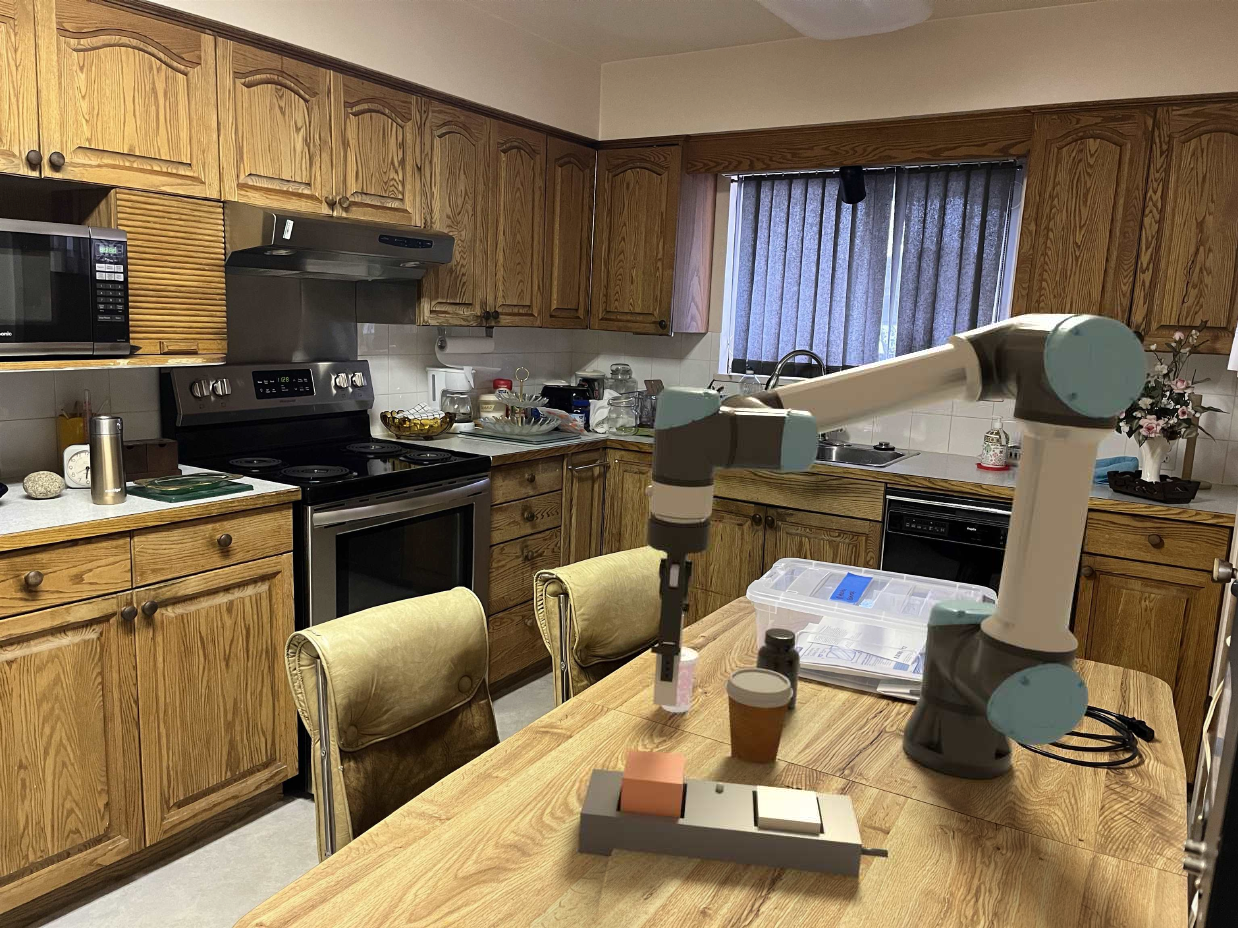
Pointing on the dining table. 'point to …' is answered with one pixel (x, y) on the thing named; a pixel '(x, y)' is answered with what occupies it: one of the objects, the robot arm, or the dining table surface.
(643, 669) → the dining table surface
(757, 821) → the button ivory
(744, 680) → the disposable coffee cup
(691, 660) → the beverage cup
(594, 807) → the push button control box
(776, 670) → the supplement bottle
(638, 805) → the button orange
